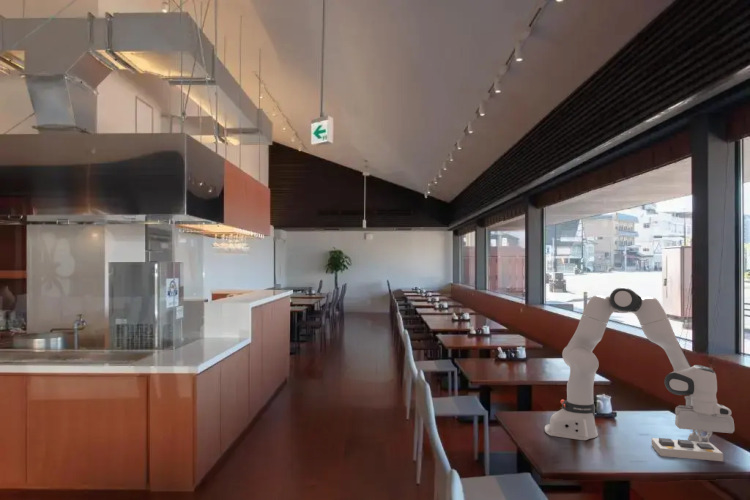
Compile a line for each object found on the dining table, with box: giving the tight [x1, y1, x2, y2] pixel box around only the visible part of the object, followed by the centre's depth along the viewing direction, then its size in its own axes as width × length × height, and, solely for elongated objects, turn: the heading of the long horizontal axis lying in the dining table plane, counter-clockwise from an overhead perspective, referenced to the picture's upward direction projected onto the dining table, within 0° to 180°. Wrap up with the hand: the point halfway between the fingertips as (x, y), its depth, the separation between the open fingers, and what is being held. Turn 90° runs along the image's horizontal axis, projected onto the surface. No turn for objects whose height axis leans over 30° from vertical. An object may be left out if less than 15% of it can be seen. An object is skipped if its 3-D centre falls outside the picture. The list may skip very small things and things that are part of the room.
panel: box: [651, 437, 724, 462], centre depth 202 cm, size 22×12×3 cm, turn 76°
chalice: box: [684, 395, 701, 442], centre depth 217 cm, size 7×7×18 cm
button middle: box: [677, 438, 694, 448], centre depth 202 cm, size 4×4×2 cm
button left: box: [658, 437, 674, 446], centre depth 204 cm, size 4×4×2 cm
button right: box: [697, 443, 714, 450], centre depth 200 cm, size 4×4×2 cm
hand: (704, 441), depth 200 cm, fingers closed
